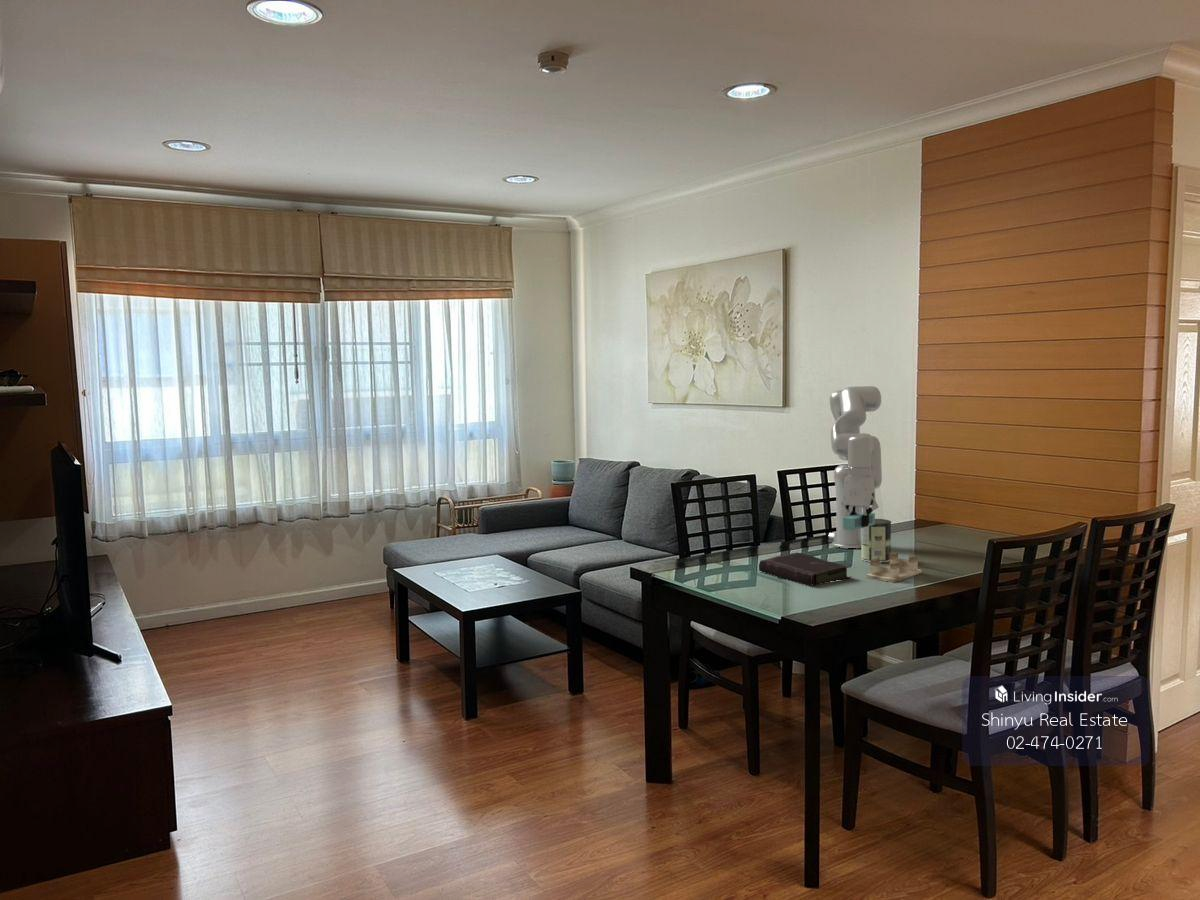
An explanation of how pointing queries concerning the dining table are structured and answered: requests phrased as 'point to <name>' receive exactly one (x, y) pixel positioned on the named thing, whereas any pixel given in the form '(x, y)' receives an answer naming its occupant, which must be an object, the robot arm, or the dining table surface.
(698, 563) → the dining table surface
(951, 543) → the dining table surface
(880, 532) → the coffee can
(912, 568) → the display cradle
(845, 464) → the robot arm
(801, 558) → the diary
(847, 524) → the teal rectangular block
